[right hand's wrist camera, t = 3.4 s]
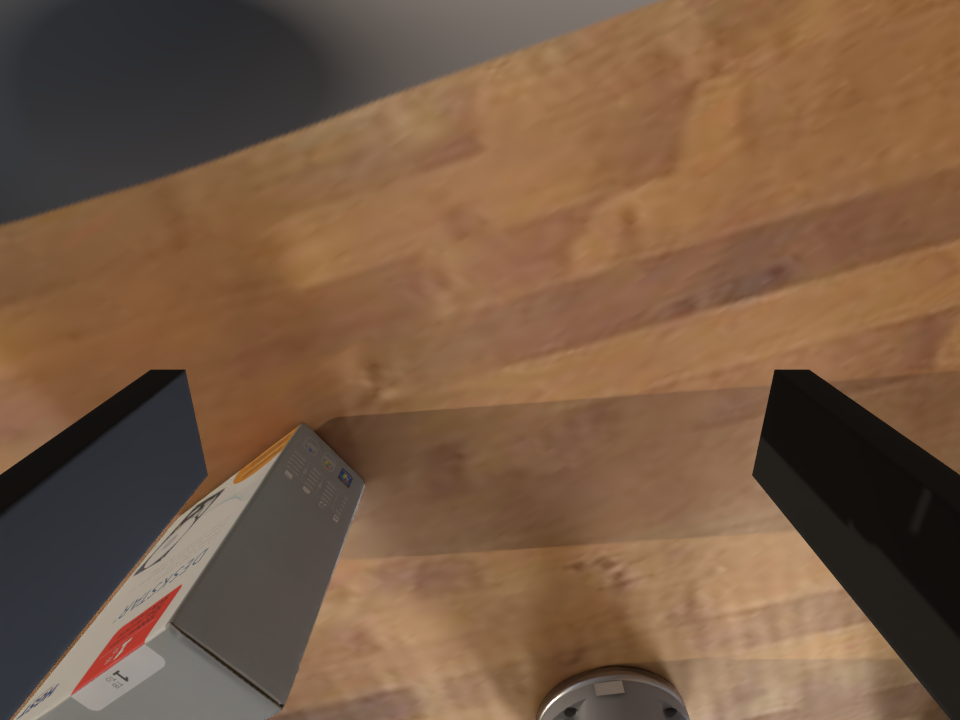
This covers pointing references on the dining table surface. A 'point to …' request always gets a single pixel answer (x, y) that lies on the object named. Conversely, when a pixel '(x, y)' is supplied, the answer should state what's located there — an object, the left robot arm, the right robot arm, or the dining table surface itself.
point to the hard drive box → (217, 599)
